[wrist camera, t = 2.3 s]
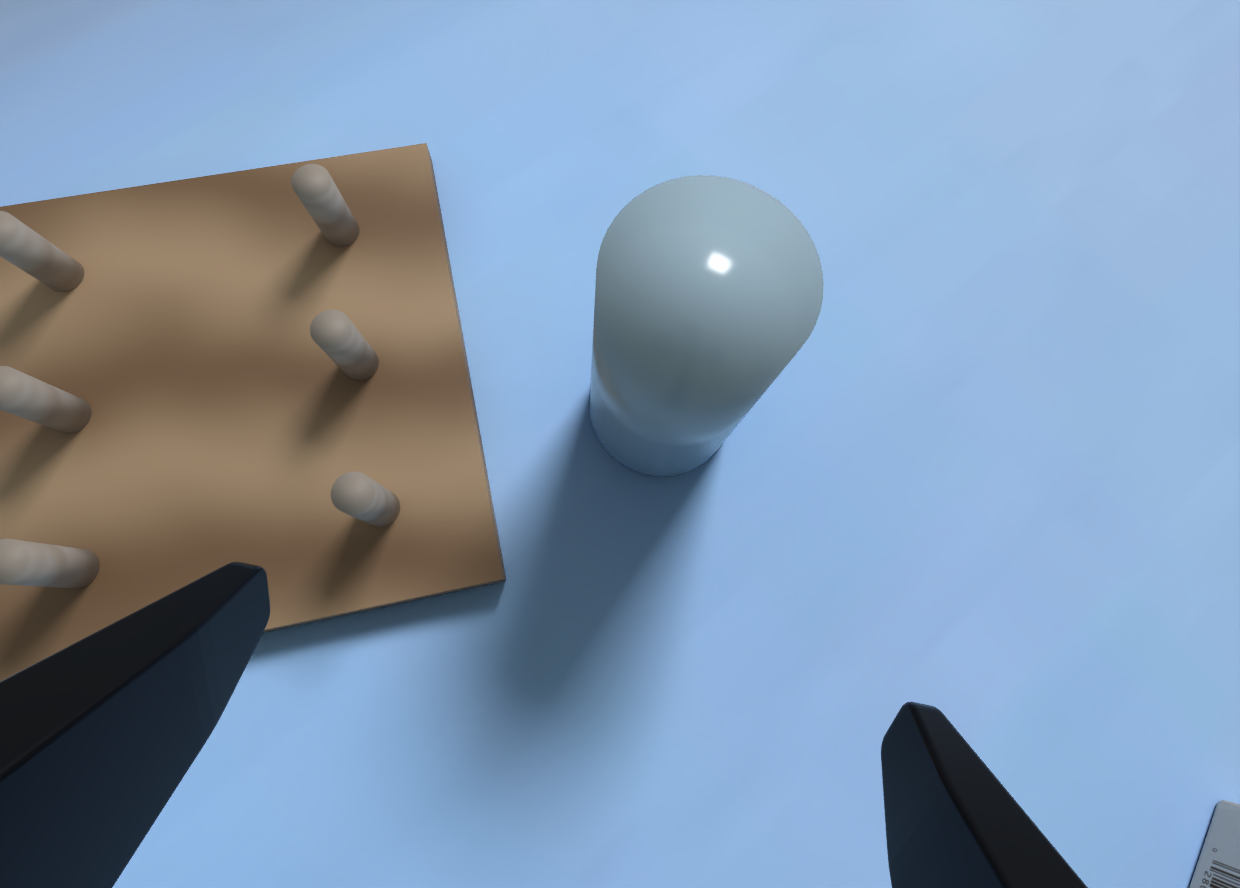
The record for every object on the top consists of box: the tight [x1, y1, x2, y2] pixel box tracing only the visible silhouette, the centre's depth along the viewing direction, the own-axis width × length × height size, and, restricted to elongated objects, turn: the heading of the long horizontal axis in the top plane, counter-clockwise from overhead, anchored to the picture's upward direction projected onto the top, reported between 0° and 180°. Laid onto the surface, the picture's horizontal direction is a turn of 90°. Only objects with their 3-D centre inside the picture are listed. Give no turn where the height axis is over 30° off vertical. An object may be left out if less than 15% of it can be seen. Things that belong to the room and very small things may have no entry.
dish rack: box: [0, 143, 506, 682], centre depth 23 cm, size 16×16×4 cm
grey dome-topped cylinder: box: [590, 175, 823, 476], centre depth 21 cm, size 5×5×10 cm
